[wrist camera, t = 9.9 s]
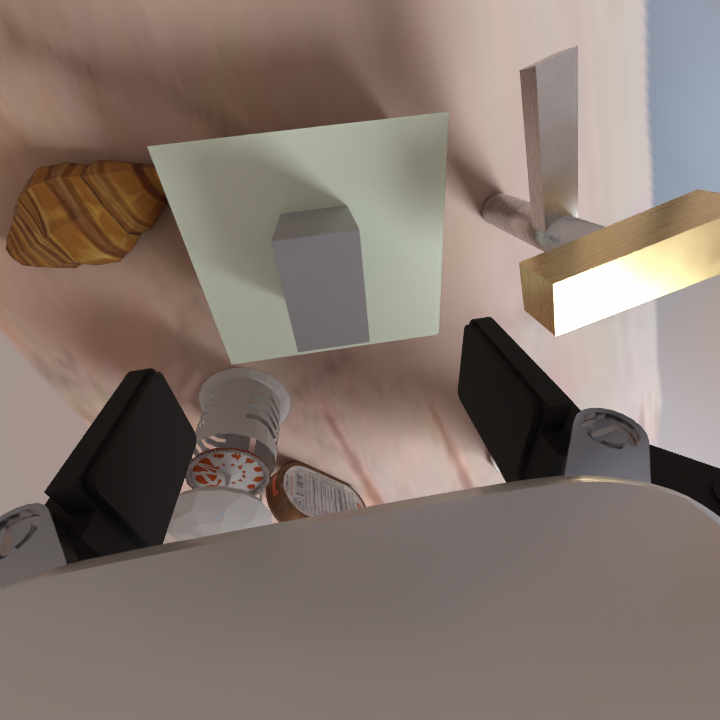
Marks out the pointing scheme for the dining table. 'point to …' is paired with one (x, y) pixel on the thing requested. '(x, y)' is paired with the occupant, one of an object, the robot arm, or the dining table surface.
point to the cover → (314, 232)
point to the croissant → (84, 213)
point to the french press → (232, 454)
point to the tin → (308, 493)
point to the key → (589, 240)
